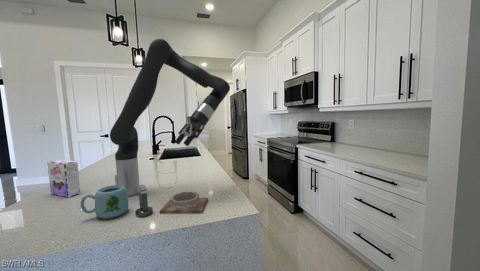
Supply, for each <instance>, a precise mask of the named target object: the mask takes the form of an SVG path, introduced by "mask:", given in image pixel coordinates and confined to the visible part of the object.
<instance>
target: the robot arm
mask: <svg viewBox="0 0 480 271" xmlns="http://www.w3.org/2000/svg"><path fill="white" fill-rule="evenodd" d="M145 55H146V56H145V59H144V61H143V64H142V66H141V69H140V70H139V73H138V75H137V77H136V79H135V81H134V83H133V85H132V87H131V89H130V91H129V93H128V97H127V99H126V101H125V103H124V106H123V108H122V110H121V113H120V114H119V116H118V118H117V119H116V121H115V123H114V124H113V126H112V127H111V130H110V132H109V138H110V141H111V143H113V144H114V145H117V146H118V147H117V150H116V152H115V154H114V159H115V168H116V171H115V172H116V175H114V181H115V182H114V183H115V184H114V185H121V186H124V187H125V189H126V192H127V197H132V196H134V195H135V196H136V195H137V194H138V195H139V192H138V189H139V185H140V174H139V172H140V171H139V162H138V161H139V159H138V154H139V153H138V152H139V135H138V131H137V129H136V127H135V125H136V123H137V120H139V118H140V116H141V115H142V114H143V113H144V112H145V110H146V109H147V108H148V107H149V105H150V103H151V102H152V100H153V97H154V95H155V92H156V90H157V85H158V81H159V80H158V79H159V75H160V72H161V69H162V68H163V66H164V65H167V66H169V67H171V68H173V69H175V70H177V71H178V72H180V73H181V74H183V75H184V76H186V77H187V78H188V79H190V80H191V81H192V82H195V83H196V84H198V85H199V86H201V87H202V88H210V89H212V90H211V92H210V93H209V94H208V95H207V96H206V97H205V98H204V100H203V101H202V102H201V103H200V105H198V106H197V108H196V109H195V110H194V112H193V113H192V114H191V115H190V117H189V121H190V123H189V124H187V123H185V124H184V125H183V126H182V128H181V129H180V130H179V131H178V136H177V138H176V139H175V140H174V142H175V143H176V145H181V143H182V141H183V140H184V138H186V139H185V140H184V142H183V145H184V146H186V147H188V146H189V145H190V144H191V142H192V141H193V140H195V139H198V138H199V136H200V135H201V133H202V132H203V130H204V129H205V127H206V125H207V124H208V123H209V121H210V119H211V118H212V117H213V115H214V113H215V112H216V110H217V109H218V107H219V106H220V104H221V103H222V101H223V100H224V99H225V98H226V96H228V93H229V92H230V90H231V87H230V84H229V82H227V81H226V79H224V78H222V77H219V76H216V75H212V74H211V73H210V72H208V71H206V70H204V69H203V68H201V67H200V66H198V65H196V64H195V63H192V62H190V61H188V59H187V60H186V59H185V58H183V57H182V56H181V55H180V54H178V53H177V52H176V51H175V50H174V49H173V48H172V46H171V45H170V44H169V42H168V41H167V40H165V39H164V38H161V37H159V38H156V39H153V40H152V41H151V42H150V44H149V47H148V49H147V53H146V54H145Z"/></svg>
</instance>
